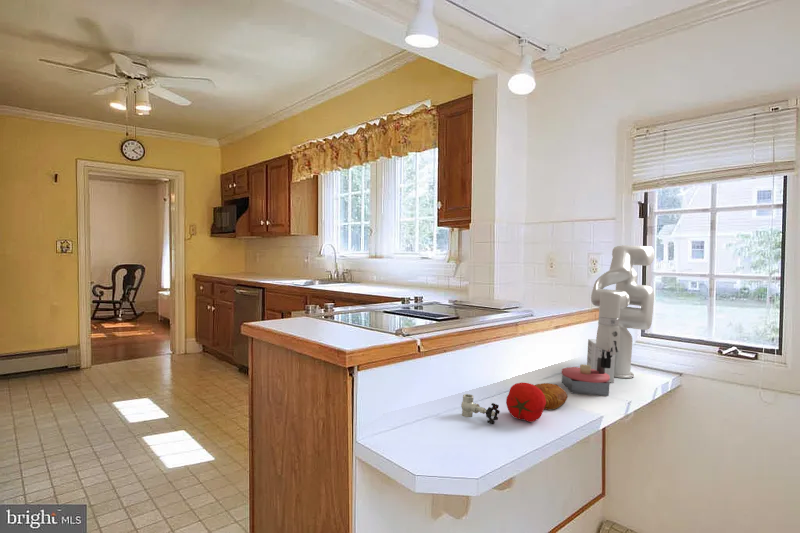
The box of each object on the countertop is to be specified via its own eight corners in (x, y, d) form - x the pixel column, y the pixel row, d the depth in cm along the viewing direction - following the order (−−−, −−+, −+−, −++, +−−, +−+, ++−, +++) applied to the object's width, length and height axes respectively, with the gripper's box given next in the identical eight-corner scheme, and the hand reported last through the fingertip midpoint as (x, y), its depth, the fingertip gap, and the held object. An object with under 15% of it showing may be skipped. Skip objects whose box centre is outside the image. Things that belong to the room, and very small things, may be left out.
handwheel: (578, 383, 172) (579, 364, 171) (553, 370, 189) (554, 353, 189) (619, 382, 175) (620, 364, 175) (591, 369, 193) (592, 353, 193)
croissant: (571, 409, 165) (574, 387, 165) (556, 413, 153) (559, 390, 153) (533, 398, 174) (536, 377, 175) (516, 401, 162) (519, 379, 163)
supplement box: (607, 377, 202) (610, 340, 202) (614, 383, 193) (616, 344, 193) (585, 375, 204) (587, 338, 203) (591, 381, 195) (593, 342, 194)
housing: (561, 382, 190) (562, 371, 190) (595, 385, 189) (596, 373, 189) (571, 393, 176) (572, 380, 176) (608, 395, 175) (609, 383, 175)
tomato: (525, 420, 154) (512, 433, 143) (507, 385, 157) (492, 396, 146) (558, 407, 148) (547, 420, 137) (538, 371, 151) (526, 381, 140)
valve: (456, 416, 147) (488, 427, 139) (457, 396, 146) (489, 406, 138) (467, 411, 151) (499, 421, 143) (468, 392, 151) (500, 401, 143)
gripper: (628, 325, 172) (625, 372, 173) (607, 319, 187) (604, 363, 188) (610, 324, 172) (607, 372, 172) (589, 318, 186) (586, 362, 187)
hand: (605, 367), depth 180 cm, fingers closed
